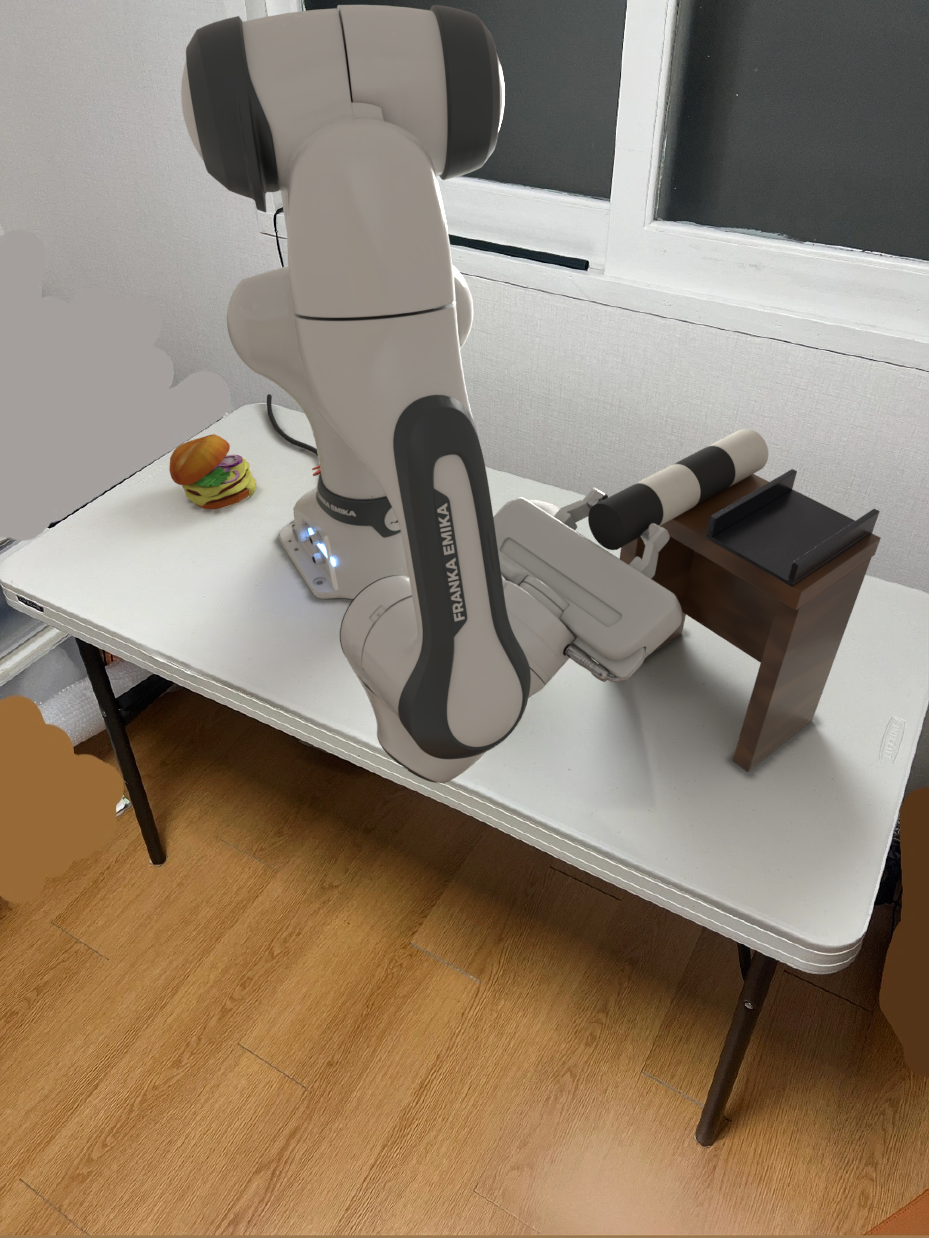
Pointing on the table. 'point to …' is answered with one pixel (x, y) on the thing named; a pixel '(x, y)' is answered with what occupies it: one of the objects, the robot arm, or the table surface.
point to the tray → (786, 530)
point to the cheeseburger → (211, 473)
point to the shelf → (761, 617)
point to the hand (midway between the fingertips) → (632, 511)
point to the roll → (677, 488)
